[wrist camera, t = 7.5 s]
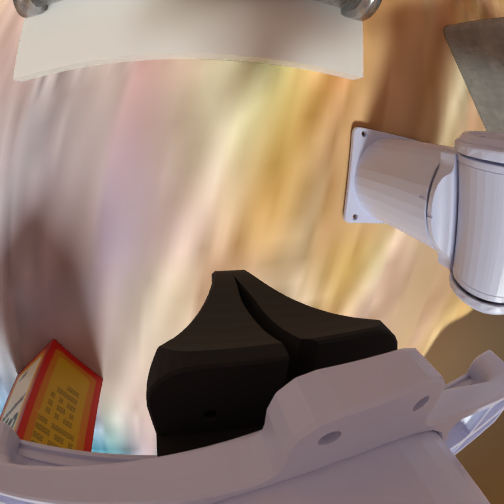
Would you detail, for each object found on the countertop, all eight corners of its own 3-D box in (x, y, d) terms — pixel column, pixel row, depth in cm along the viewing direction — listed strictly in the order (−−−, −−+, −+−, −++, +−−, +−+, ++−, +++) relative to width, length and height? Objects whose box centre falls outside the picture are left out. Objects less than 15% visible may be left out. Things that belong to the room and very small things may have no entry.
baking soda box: (53, 338, 22) (3, 484, 7) (103, 379, 25) (86, 523, 10) (17, 374, 22) (-21, 489, 8) (60, 407, 25) (40, 522, 11)
